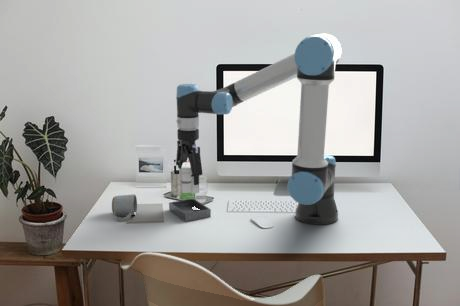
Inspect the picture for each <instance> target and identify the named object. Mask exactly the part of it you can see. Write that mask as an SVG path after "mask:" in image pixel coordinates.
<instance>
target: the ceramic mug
mask: <svg viewBox="0 0 460 306" xmlns="http://www.w3.org/2000/svg"><path fill="white" fill-rule="evenodd" d="M111 199H112V201H111V211H112V214H113V216H114V219H115V220H116V221H117V222H125V221H128V220H129V219H130V218H131V217H132V216H131V215H135V214H134V212H137V213H138V199H137V195H136V194H125V195H124V194H121V195H120V194H119V195H114V196H113V197H112V198H111ZM119 216H121V217H119ZM123 216H124V217H123ZM127 219H128V220H127Z"/></svg>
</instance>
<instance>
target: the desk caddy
mask: <svg viewBox="0 0 460 306" xmlns="http://www.w3.org/2000/svg"><path fill="white" fill-rule="evenodd" d="M194 206H195V207H196V208H198V209H200V210H193V209H192V207H194ZM168 210H169V211H170V212H171V213H172V214H173V215H175V216H176V217H177V218H179V219H180V220H182V221H183V222H184V223H188V222H193V221H198V220H205V219H209V218H211V217H212V216H211V214H212V211H211V208H209V207H208V206H207V205H205V204H203V203H201V202H200V201H198V200H197V199H196V198H195V199H182V200H175V201H171V202H170V201H169V202H168Z"/></svg>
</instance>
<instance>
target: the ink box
mask: <svg viewBox="0 0 460 306" xmlns="http://www.w3.org/2000/svg"><path fill="white" fill-rule="evenodd" d="M191 175H192V171H191V166H190V162H189V161H187V162H183V164H182V167H181V180H182V186H181V199H182V200H187V199H195V200H196V198H197V197H196V196H197V193H195V194H192V192H191Z"/></svg>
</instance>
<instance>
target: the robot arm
mask: <svg viewBox="0 0 460 306" xmlns="http://www.w3.org/2000/svg"><path fill="white" fill-rule="evenodd" d="M341 55H342V47H341V43H340V42H339V41H338V39H337V38H336V37H335V36H334V35H331V34H328V33H318V34H312V35H309V36H307V37H305V38H304V39H302V40H301V41H299V43H298V44H297V46H296V48H295V51H294V53H293V54H291V55H289V56H287V57H285V58H283V59H280V60H278V61H276V62H273V63H272V64H270V65H268V66H266V67H264V68H262V69H260V70H258V71H256V72H254V73H251V74H249V75H248V76H247V75H246V77H243V78H241V79H239V80H237V81H235V82H233V83H231V84H229V85H227V86H225V87H222V88H219V89H216V90H213V91H212V90H211V91H207V90H206V91H205V90H200V89H199V86H198V85H197V84H194V83H181V84H179V85H177V86H176V97H175V98H176V116H177V117H176V120H175V122H176V123H177V126H176V127H177V128H178V129H177V131H176V132H177V140H176V143H177V146H176V147H177V149H176V158H175V165H176V166H177V168H178V172H179V173H178V174H179V175H178V176H179V177H178V178H179V186H180V187H182V180H181V167H182V164H183V162H190V166H191V171H192V175H191V192H192V194H195V193H196V194H199V193H200V176H203V167H202V160H201V147H200V146H197V144H196V141H198V140H199V138H200V129H199V127H200V126H199V125H200V121H199V120H200V116H199V113H200V114H211V115H218V116H219V115H229V114H230V113H231V111H232V110H233V107H237V106H238V105H240V104H241V103H243V102H246V101H248V100H250V99H253V98H255V97H257V96H258V95H262V94H263V93H266V92H267V91H270V90H271V89H274V88H276V87H279V86H280V85H283V84H285V83H288V82H290V81H291V80H293V79H297V80H298V81H299V82H300V84H301V85H300V103H299V104H300V105H299V119H298V120H299V122H298V137H297V140H298V141H297V156H295V157H294V159H292V164H291V175H290V177H289V179H288V181H287V192H288V194H289V196H290V197H291V198H292V200H293V201H295V202H296V203H297V206H296V209H295V216H294V217H295V218H296V220H298V221H300V222H302V223H304V224H309V225H329V224H333V223H335V222H337V221H338V219H339V211H338V207H337V204H336V201H335V181H336V177H335V176H336V166H337V164H336V158H335V157H334V156H333V155H329V154H325V144H326V131H327V118H328V117H327V115H328V104H329V103H328V102H329V101H328V100H329V91H330V90H329V88H330V84H331V83H332V82H333V81H334V80H335V73H336V72H335V71H336V65H337V64H338V63H339V61H340V59H341Z"/></svg>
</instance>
